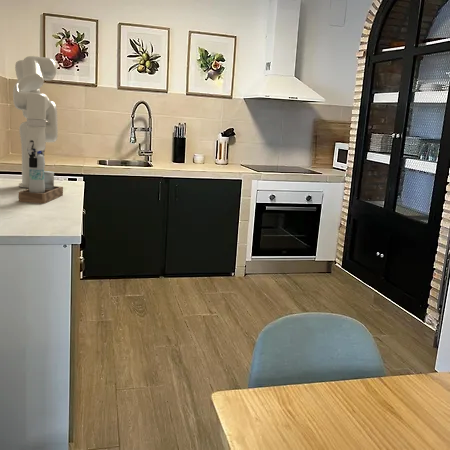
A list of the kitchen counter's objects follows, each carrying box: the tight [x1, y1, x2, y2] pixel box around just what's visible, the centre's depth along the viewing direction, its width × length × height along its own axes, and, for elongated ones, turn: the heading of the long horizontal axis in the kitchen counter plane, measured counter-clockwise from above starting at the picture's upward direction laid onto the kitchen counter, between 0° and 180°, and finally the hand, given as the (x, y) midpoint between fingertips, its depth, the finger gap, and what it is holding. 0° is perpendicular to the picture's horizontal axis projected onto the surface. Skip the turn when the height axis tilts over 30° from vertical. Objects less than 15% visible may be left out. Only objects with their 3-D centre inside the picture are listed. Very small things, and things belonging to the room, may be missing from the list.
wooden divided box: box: [18, 170, 64, 204], centre depth 220 cm, size 22×11×11 cm, turn 178°
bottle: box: [28, 151, 46, 193], centre depth 213 cm, size 7×7×20 cm
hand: (36, 166), depth 213 cm, fingers closed on bottle, 6 cm apart
